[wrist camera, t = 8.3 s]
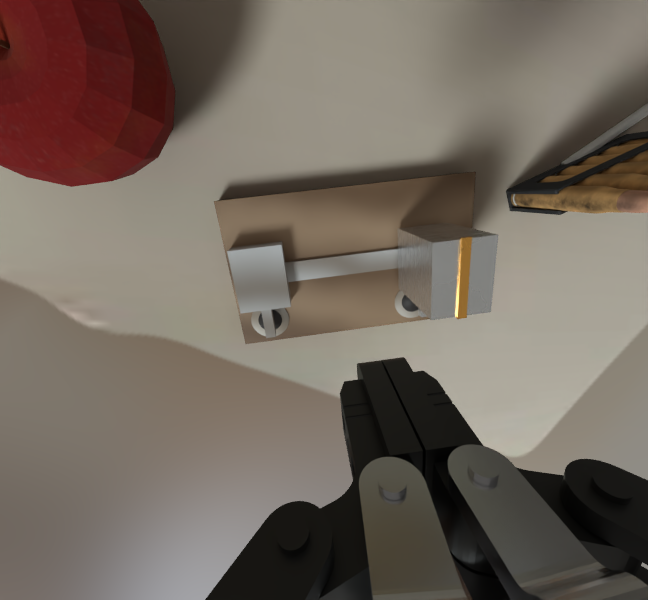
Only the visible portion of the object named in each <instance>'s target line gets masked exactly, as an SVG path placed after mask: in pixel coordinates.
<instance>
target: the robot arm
mask: <svg viewBox="0 0 648 600" xmlns="http://www.w3.org/2000/svg"><path fill="white" fill-rule="evenodd" d="M357 375H358V380H352V381H345V382H344V384H343V386H342V389H341V392H340V399H341V409H342V419H343V430H344V435H345V441H346V445H347V451H348V456H349V462H350V467H351V471H352V477H353V482H352V484H351V486H350V487H349V489H348V490H347V491H346V492H345V494H343V495H342V496H341V497H340V498H338V499H337V500H335V501H334V502H332V503H330V504H328V505H326V506H324V507H322V508H318V507H317V506H315V505H314V504H311V503H309V502H304V501H295V502H290V503H287V504H285V505H282V506H281V507H279V508H278V509H276V510H275V511H274V512H273V513H271V514H270V516H269V517H268V518H267V519H266V520H265V522H264V523H263V524H262V526H261V527H260V528H259V530H258V531H257V532H256V533H255V535H254V536H253V537H252V539H251V540H250V541H249V543H248V544H247V545H246V547H245V548H244V549H243V551H242V552H241V553H240V555H239V556H238V557H237V559H236V560H235V561H234V563H233V564H232V565H231V566H230V568H229V569H228V571H227V572H226V573H225V574H224V576H223V577H222V579H221V580H220V581H219V582H218V584H217V585H216V586H215V588H214V589H213V590H212V592H211V593H210V594H209V596H208V597H207V598H206V599H205V600H648V570H647V569H646V568H644V567H642V566H641V564H642V562H643V563H645V564H647V565H648V480H646V479H643V478H641V477H639V476H636V475H634V474H632V473H630V472H627V471H625V470H623V469H620V468H618V467H616V466H613V465H611V464H608V463H605V462H601V461H597V460H591V459H579V460H575V461H572V462H571V463H569V464H568V465H567V467H566V469H565V473H564V476H563V475H555V474H549V473H542V472H534V471H528V470H523V469H519V468H516V467H515V466H514V465H513V464H512V463H511V462H510V461H509V460H508V459H507V458H506V457H505V456H503V455H502V454H500V453H499V452H497V451H495V450H493V449H490V448H488V447H485V446H483V445H482V443H481V442H480V441H479V439H478V438H477V436H476V435H475V433H474V432H473V431H472V429H471V428H470V426H469V425H468V424H467V422H466V421H465V419H464V418H463V416H462V415H461V414H460V412H459V411H458V409H457V408H456V407H455V405H454V404H452V401H451V400H450V398H449V397H448V395H447V394H445V391H444V390H443V388H442V387H441V385H440V384H439V383H438V381H437V380H436V379H435V378H433V377H432V376H430V375H429V374H427V373H426V372H424V371H418V372H413V371H412V369H411V367H410V366H409V364H408V362H407V361H406V359H405V358H404V357H402V358H395V359H387V360H381V361H373V362H366V363H358V364H357Z"/></svg>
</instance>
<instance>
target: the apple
mask: <svg viewBox="0 0 648 600" xmlns="http://www.w3.org/2000/svg"><path fill="white" fill-rule="evenodd" d="M174 106H175V88H174V85H173V81H172V77H171V74H170V70H169V66H168V63H167V59H166V55H165V52H164V49H163V46H162V43H161V41H160V38H159V35H158V32H157V30H156V27H155V24H154V21H153V20H152V19H151V17H150V16H149V15H148V13H147V12H146V10H145V9H144V8H143V6H142V5H141V3H140V2H139V1H138V0H0V165H1V166H3V167H5V168H8V169H10V170H12V171H14V172H17V173H19V174H21V175H24V176H26V177H29V178H34V179H39V180H43V181H48V182H52V183H57V184H62V185H66V186H71V187H72V186H80V185H87V184H94V183H101V182H108V181H114V180H117V179H120V178H123V177H126V176H129V175H132V174H134V173H136V172H137V171H139V170H140V169H142V168H143V167H145V166H146V165H147V164H149V163H150V162H152V161H153V160H155V159H156V158H158V157H159V155H160V153H161V151H162V149H163V147H164V145H165V143H166V141H167V139H168V137H169V135H170V133H171V131H172V129H173V120H174Z"/></svg>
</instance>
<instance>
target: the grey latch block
mask: <svg viewBox="0 0 648 600" xmlns="http://www.w3.org/2000/svg"><path fill="white" fill-rule="evenodd" d="M497 243H498V235H497V234H493V233H489V232H485V231H480V230H476V229H472V228H468V227H464V226H459V225H455V224H451V223H439V224H431V225H423V226H414V227H406V228H398V277H399V289H400V290H401V291H402V292H403V293H404V294H405V295H406V296H407V297H408V298H409V299H410V300H411V301H412V302H413V303H414V304H415V305H416V306H417V307H418V315H419V316H420V317H428V318H429V319H430V320H435V319H443V318H450V317H456V318H457V319H461V318H467V315H472V314H479V313H487V312H491V304H492V294H493V284H494V274H495V263H496V253H497Z"/></svg>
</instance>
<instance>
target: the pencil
mask: <svg viewBox="0 0 648 600" xmlns="http://www.w3.org/2000/svg"><path fill="white" fill-rule="evenodd" d="M647 115H648V103H647V104H646V105H644V106H643V107H641V108H640V109H638V110H637V111H635V112H634V113H633V114H631V115H630V116H628V117H627V118H625V119H624V120H622V121H621V122H619V123H618V124H617V125H615V126H614V127H612V128H611V129H609V130H608V131H606V132H605V133H604V134H602V135H601V136H599V137H598V138H596V139H595V140H593V141H592V142H591V143H589V144H588V145H586V146H585V147H583V148H582V149H580V150H579V151H578V152H576V153H574V154H573V155H571V156H570V157H568V159H566V160H564V161H563V162H561V165H564V164H568V163H570V162H572V161H575V160H577V159H579V158H581V157H583V156H585V155H587V154H589V153H591V152H594V151H595V150H597V149H599V148H601V147H602V146H604V145H605V144H607V143H608V142H610V141H611V140H612V139H614V138H615V137H617V136H618V135H620V134H621V133H623V132H624V131H626V130H627V129H629V128H630V127H631V126H633V125H634V124H636V123H637V122H639V121H640V120H642V119H643V118H645V117H646V116H647ZM573 166H574V165H573Z"/></svg>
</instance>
